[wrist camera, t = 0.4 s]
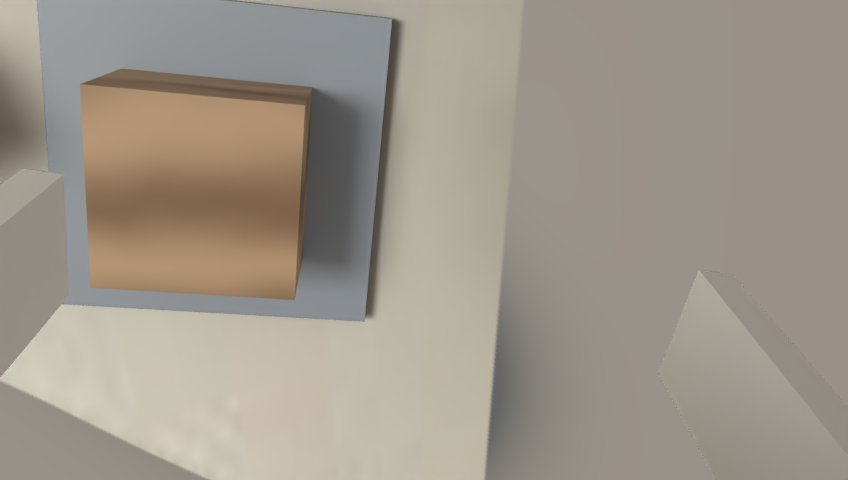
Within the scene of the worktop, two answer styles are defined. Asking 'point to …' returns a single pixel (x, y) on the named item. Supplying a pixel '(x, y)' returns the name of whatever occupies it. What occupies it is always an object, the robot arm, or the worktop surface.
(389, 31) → the base board
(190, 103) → the walnut plinth
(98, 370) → the worktop surface
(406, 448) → the worktop surface
